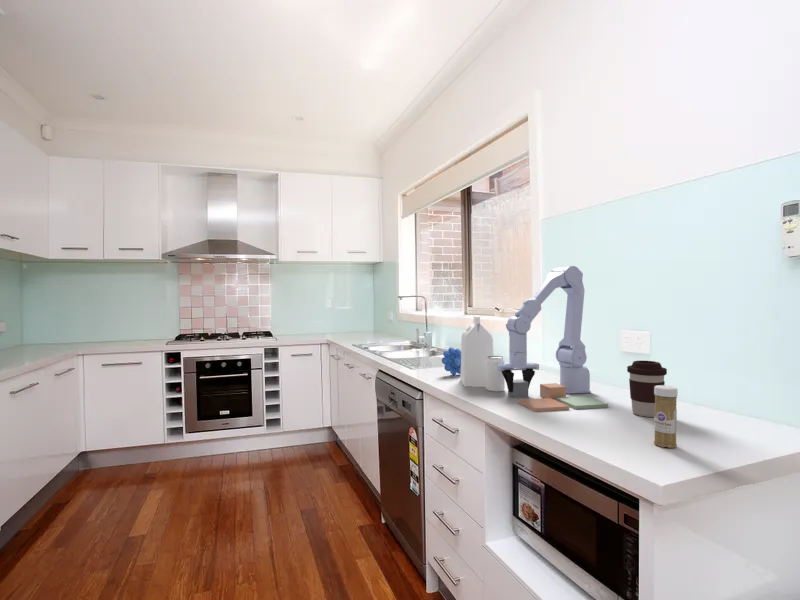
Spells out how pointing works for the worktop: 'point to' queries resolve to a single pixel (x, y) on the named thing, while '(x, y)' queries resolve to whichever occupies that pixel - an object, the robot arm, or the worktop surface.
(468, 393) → the worktop surface
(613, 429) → the worktop surface
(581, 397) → the sage pad
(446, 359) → the grapes
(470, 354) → the milk
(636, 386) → the coffee cup
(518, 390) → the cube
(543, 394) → the block
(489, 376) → the can
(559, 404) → the terracotta pad
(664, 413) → the sprinkles bottle
